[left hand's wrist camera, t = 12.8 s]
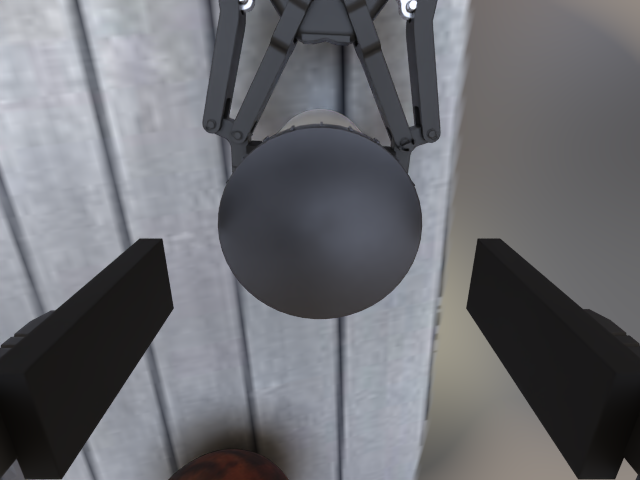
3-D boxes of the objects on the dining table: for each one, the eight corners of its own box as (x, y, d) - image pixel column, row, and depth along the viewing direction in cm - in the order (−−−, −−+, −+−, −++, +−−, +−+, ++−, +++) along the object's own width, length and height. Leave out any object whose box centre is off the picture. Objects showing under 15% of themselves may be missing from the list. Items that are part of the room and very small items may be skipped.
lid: (266, 323, 21) (262, 341, 19) (191, 161, 18) (180, 167, 16) (433, 274, 20) (442, 290, 18) (386, 91, 17) (393, 92, 15)
